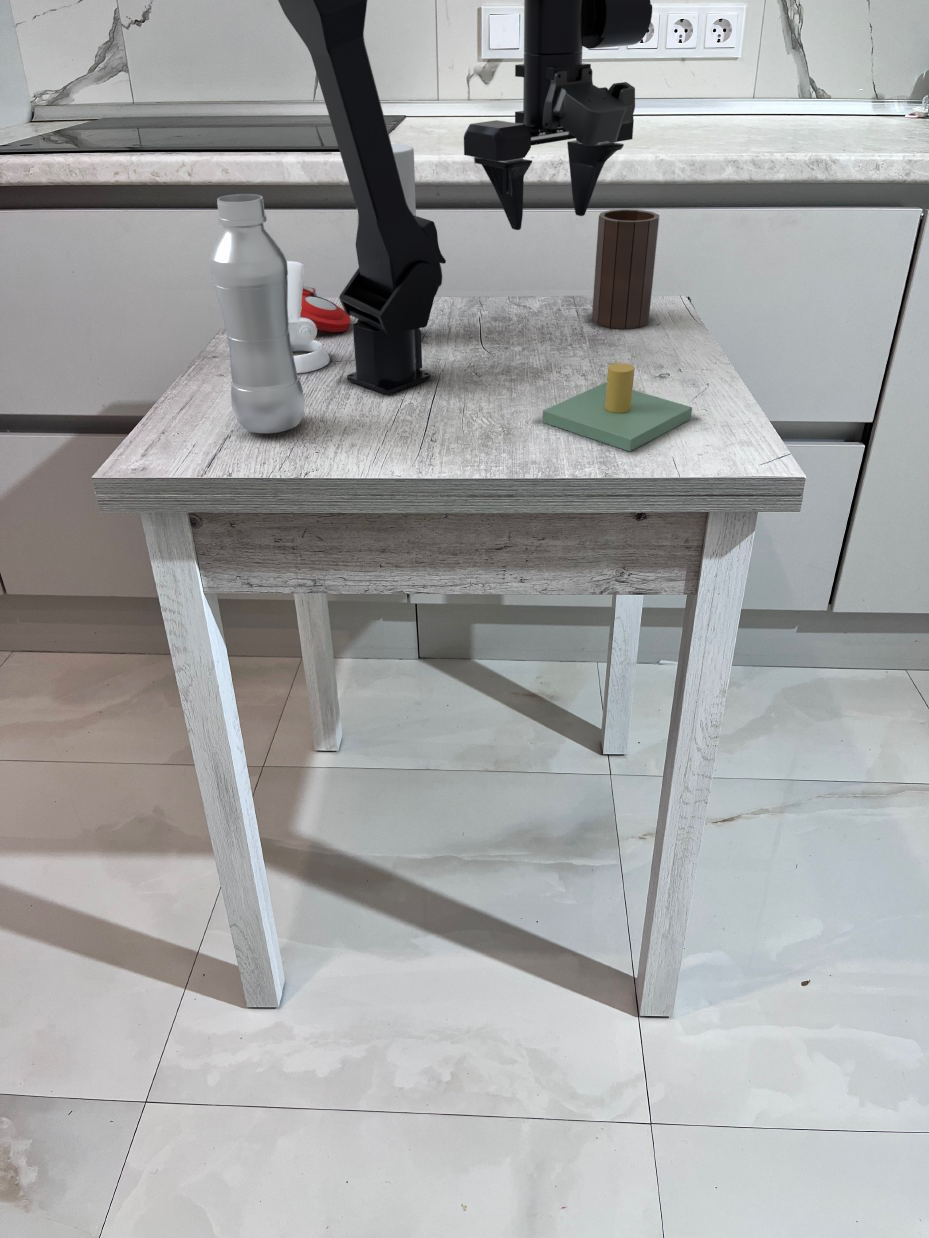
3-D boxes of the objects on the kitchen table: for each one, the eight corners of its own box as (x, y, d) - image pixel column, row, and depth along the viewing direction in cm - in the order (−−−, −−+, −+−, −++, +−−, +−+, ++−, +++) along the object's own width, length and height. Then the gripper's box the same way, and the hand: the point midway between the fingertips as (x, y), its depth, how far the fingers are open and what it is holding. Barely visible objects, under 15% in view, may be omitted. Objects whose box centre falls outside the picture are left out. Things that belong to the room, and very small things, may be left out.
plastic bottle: (312, 436, 86) (287, 202, 74) (238, 446, 84) (200, 208, 73) (302, 411, 91) (277, 188, 79) (232, 419, 89) (195, 193, 78)
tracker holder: (369, 317, 112) (301, 314, 105) (359, 351, 114) (293, 351, 107) (312, 274, 118) (244, 269, 111) (304, 308, 120) (237, 305, 113)
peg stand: (630, 451, 82) (635, 395, 79) (542, 422, 88) (544, 368, 85) (690, 419, 88) (698, 365, 85) (605, 393, 94) (609, 342, 91)
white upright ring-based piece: (329, 290, 107) (338, 267, 100) (323, 393, 107) (332, 377, 100) (263, 279, 105) (267, 255, 98) (256, 385, 104) (260, 367, 98)
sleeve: (627, 332, 110) (636, 224, 103) (581, 321, 114) (587, 216, 107) (659, 319, 114) (670, 214, 107) (613, 308, 118) (622, 206, 111)
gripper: (536, 64, 81) (533, 251, 90) (680, 49, 90) (665, 220, 99) (458, 58, 88) (462, 232, 97) (598, 44, 98) (591, 204, 107)
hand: (548, 222), depth 100 cm, fingers open, 9 cm apart
